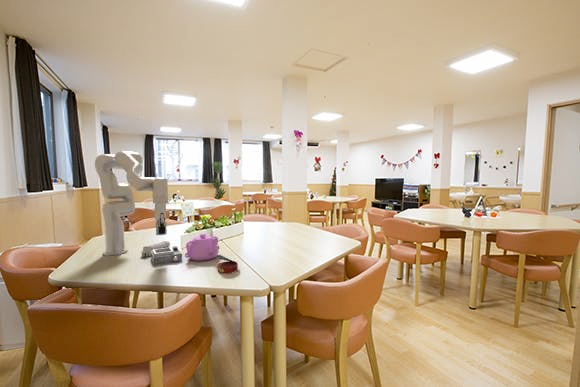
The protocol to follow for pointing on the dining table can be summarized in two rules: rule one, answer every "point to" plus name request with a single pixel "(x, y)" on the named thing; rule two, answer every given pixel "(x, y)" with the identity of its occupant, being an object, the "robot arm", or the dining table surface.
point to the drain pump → (158, 228)
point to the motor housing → (166, 255)
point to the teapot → (202, 248)
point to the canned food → (226, 265)
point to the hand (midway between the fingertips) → (161, 232)
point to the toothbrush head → (148, 249)
